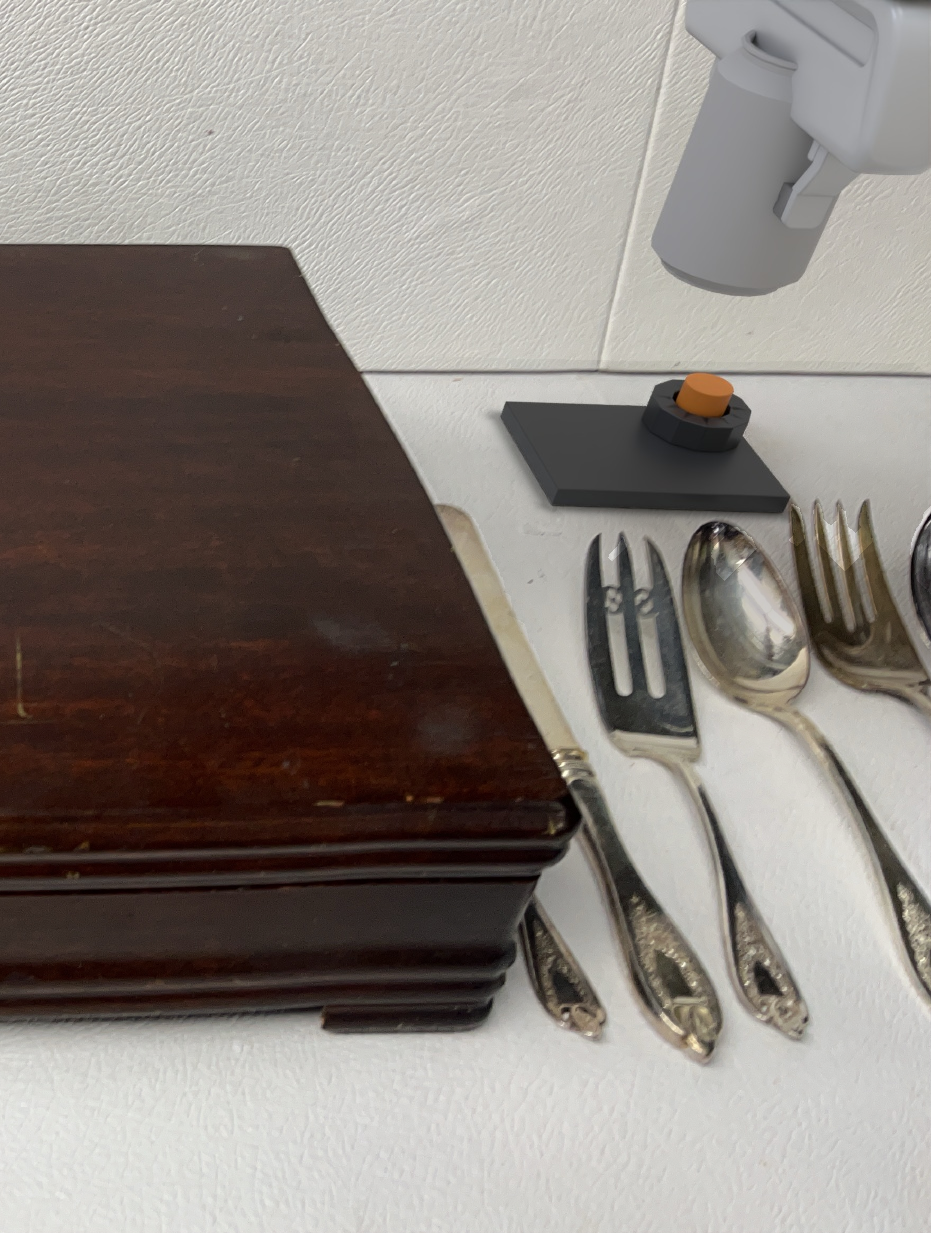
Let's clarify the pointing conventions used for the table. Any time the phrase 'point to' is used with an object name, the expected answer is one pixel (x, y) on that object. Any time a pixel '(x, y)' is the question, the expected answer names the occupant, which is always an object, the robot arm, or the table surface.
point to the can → (739, 183)
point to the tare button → (705, 395)
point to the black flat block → (644, 455)
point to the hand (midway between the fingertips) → (754, 186)
